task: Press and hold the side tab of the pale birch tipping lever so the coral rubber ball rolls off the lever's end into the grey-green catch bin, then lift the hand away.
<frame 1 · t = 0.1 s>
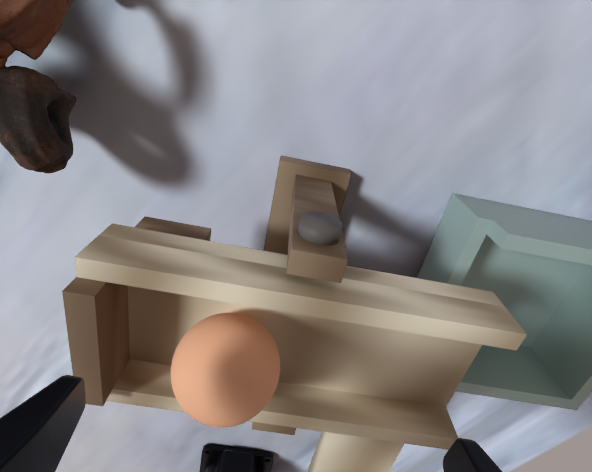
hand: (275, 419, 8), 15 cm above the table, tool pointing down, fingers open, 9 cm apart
tipping lever: (278, 395, 17), point 8 cm above the table, hinge at 0.0°, touching ball
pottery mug: (38, 36, 18), on the table
ball: (227, 366, 13), point 10 cm above the table, touching tipping lever
lever stand: (296, 244, 23), on the table
catch bin: (496, 281, 24), on the table
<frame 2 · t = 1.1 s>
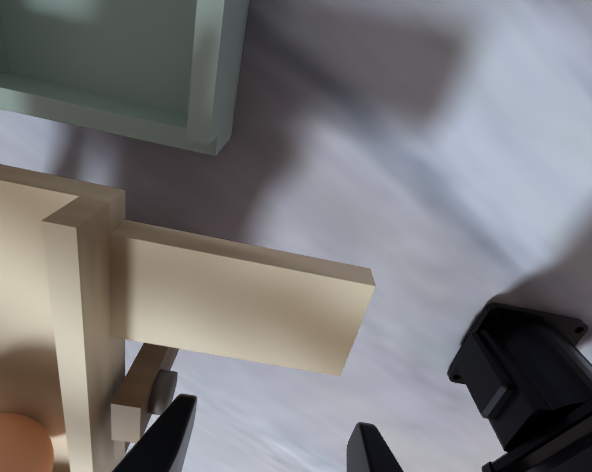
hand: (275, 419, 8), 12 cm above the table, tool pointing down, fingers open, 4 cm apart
tipping lever: (130, 391, 14), point 8 cm above the table, hinge at 0.0°, touching ball
lever stand: (120, 260, 21), on the table
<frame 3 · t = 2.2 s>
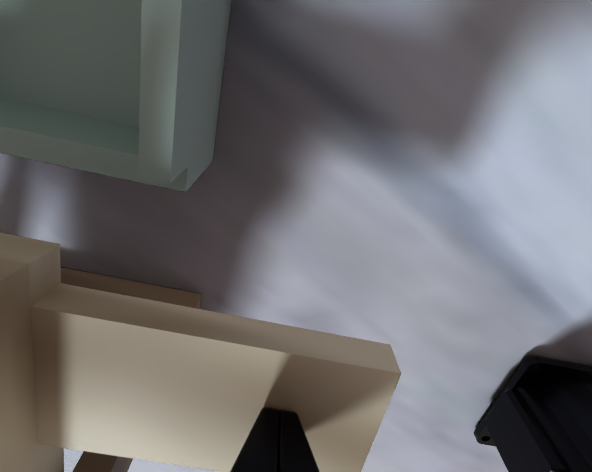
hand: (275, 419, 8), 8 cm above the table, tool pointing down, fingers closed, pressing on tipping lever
lever stand: (83, 305, 17), on the table
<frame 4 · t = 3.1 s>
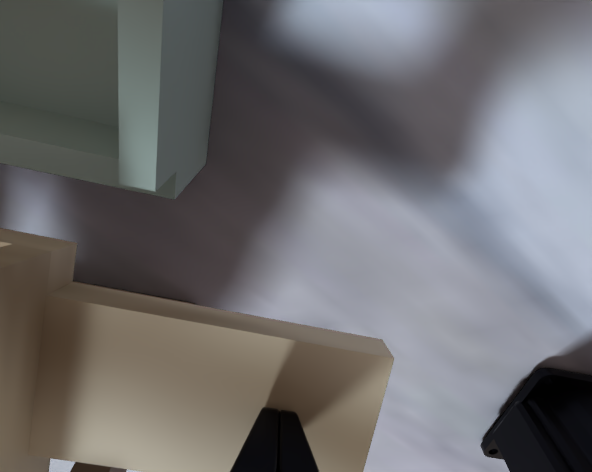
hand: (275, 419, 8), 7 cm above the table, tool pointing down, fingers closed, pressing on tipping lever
lever stand: (70, 315, 16), on the table
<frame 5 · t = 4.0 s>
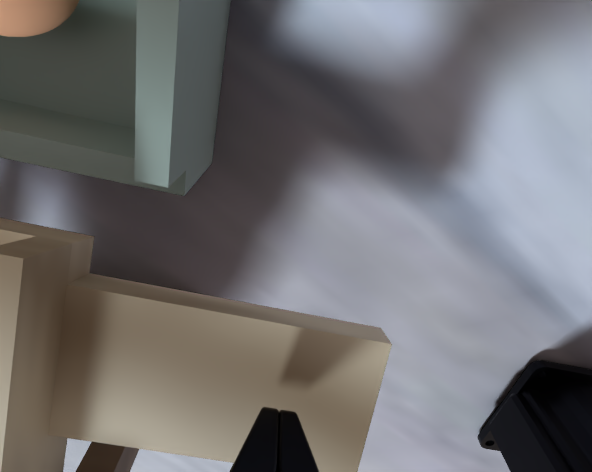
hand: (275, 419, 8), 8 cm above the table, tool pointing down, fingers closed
lever stand: (79, 310, 17), on the table
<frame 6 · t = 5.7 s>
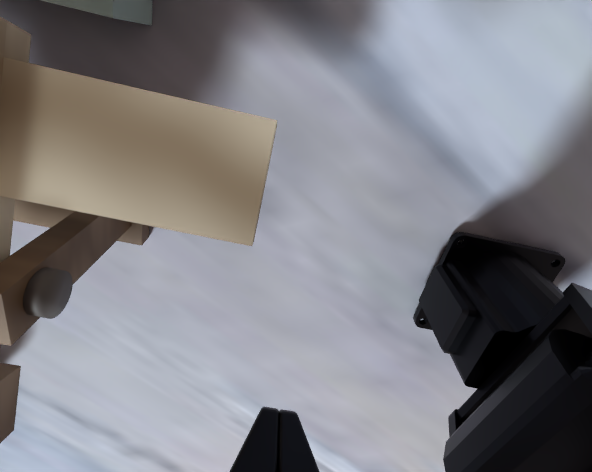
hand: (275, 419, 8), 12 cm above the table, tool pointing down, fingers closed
tipping lever: (7, 287, 12), point 8 cm above the table, hinge at 18.4°
lever stand: (43, 182, 19), on the table
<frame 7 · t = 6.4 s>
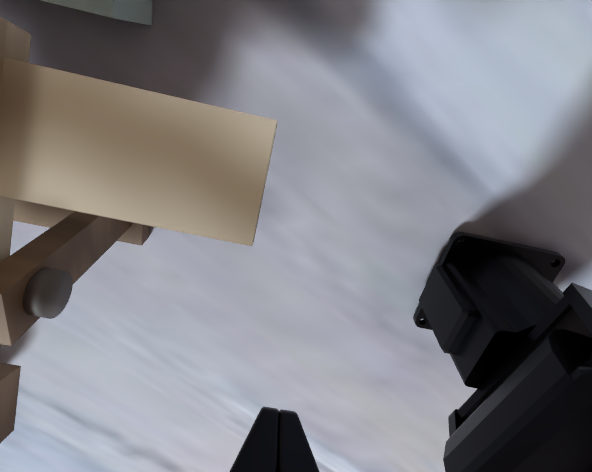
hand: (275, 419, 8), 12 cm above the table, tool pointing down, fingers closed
tipping lever: (7, 287, 12), point 8 cm above the table, hinge at 18.4°
lever stand: (43, 182, 19), on the table
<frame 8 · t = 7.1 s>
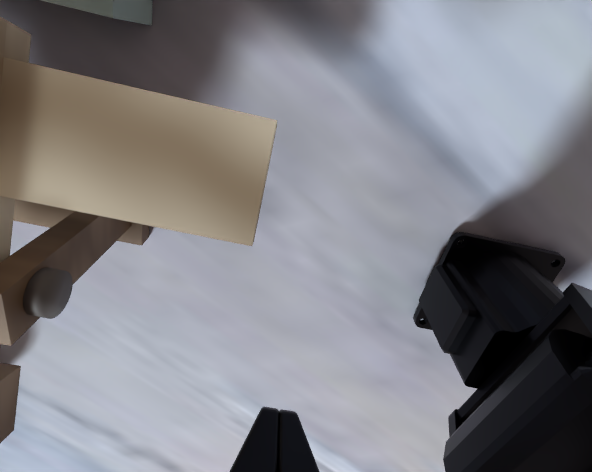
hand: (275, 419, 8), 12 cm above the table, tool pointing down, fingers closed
tipping lever: (7, 287, 12), point 8 cm above the table, hinge at 18.4°
lever stand: (43, 182, 19), on the table
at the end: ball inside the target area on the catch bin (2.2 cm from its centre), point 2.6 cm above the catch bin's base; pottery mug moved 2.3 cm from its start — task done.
